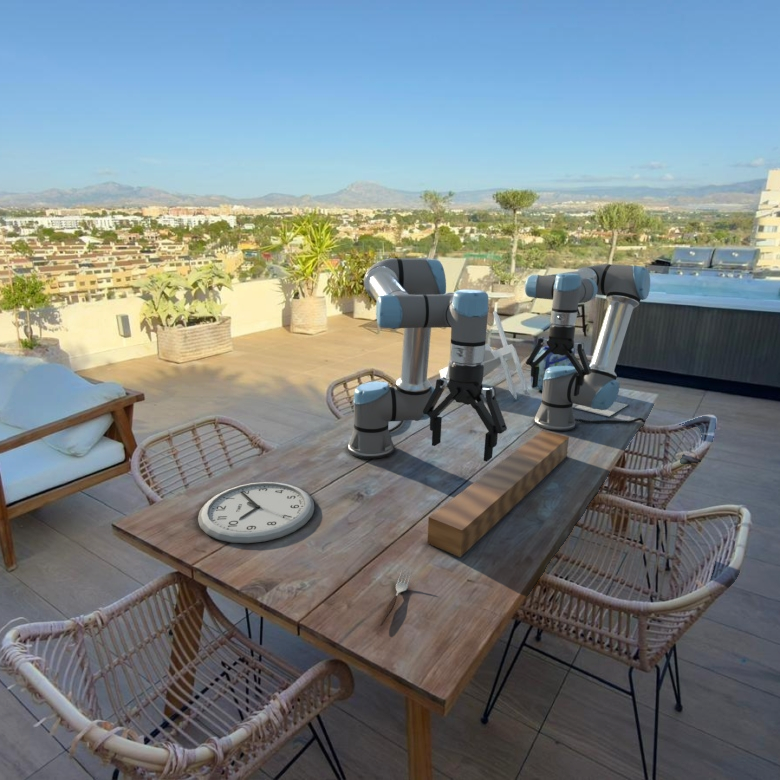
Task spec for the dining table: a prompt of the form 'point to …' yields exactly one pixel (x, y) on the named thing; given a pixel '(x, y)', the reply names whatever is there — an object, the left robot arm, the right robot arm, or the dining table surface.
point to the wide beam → (494, 494)
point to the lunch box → (549, 364)
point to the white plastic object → (499, 361)
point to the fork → (400, 588)
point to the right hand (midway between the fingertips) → (555, 390)
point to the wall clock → (256, 512)
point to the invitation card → (608, 412)
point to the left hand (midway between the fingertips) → (461, 451)
